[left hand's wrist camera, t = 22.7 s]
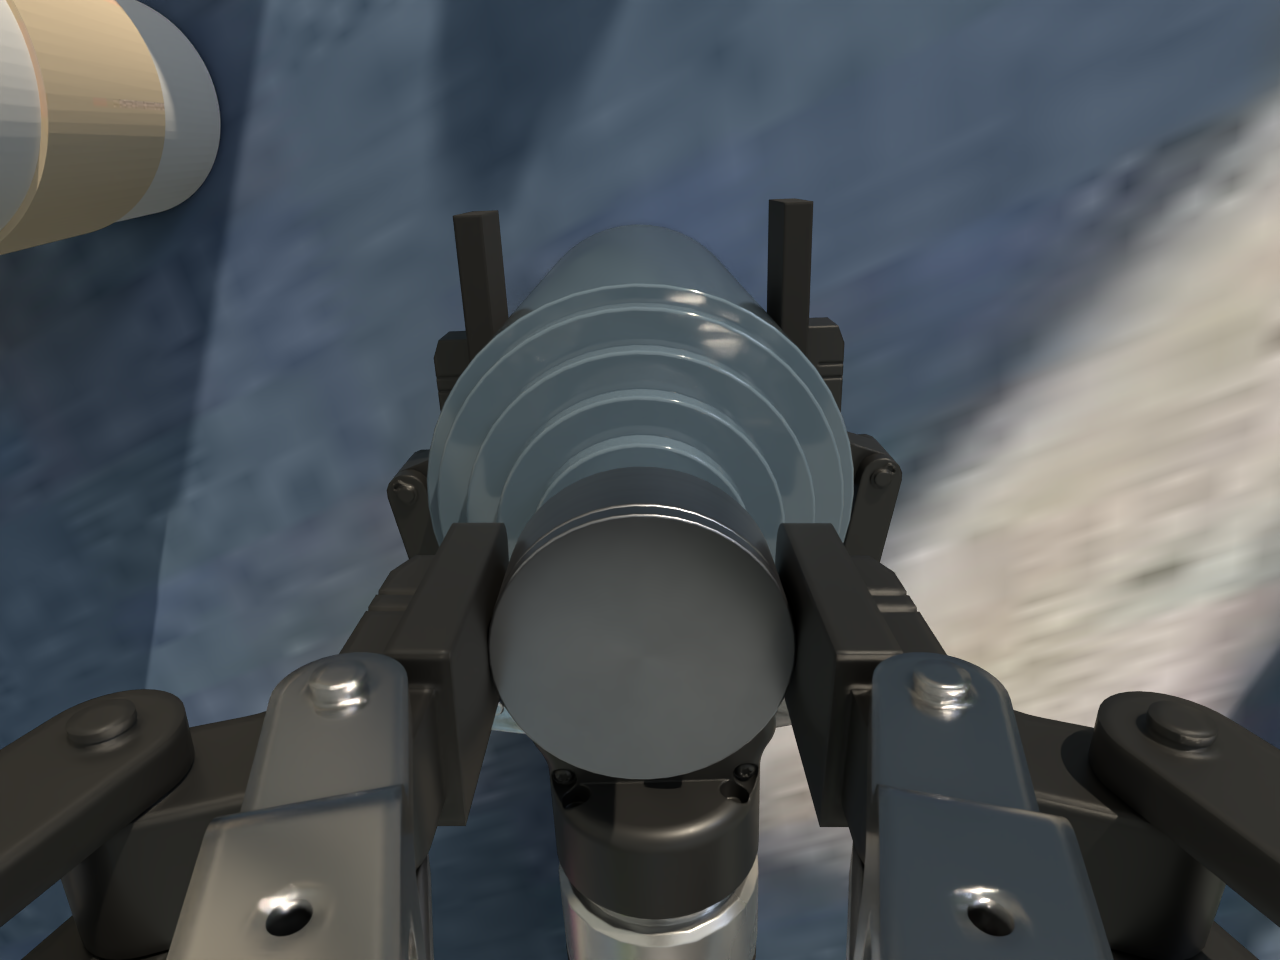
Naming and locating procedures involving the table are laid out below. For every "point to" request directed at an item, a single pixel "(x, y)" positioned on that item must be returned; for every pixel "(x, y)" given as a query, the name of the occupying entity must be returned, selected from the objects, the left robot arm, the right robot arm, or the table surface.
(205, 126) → the coffee cup
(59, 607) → the table surface
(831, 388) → the right robot arm
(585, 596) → the metal cylinder
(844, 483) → the bottle
